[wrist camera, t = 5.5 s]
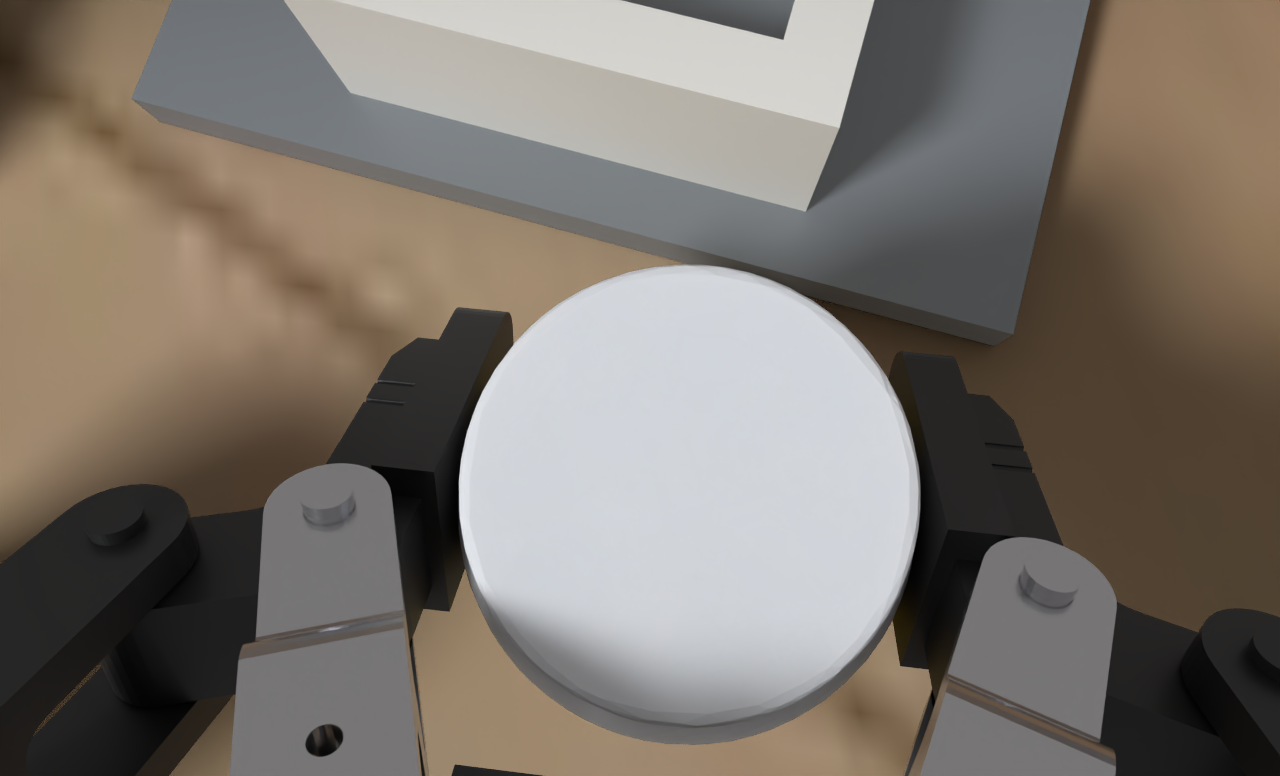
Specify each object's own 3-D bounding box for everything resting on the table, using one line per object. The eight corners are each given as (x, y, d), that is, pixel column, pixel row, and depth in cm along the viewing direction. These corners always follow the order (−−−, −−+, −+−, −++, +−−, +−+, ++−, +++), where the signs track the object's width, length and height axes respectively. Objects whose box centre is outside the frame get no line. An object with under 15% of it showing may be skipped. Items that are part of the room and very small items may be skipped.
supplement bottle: (768, 347, 18) (887, 112, 8) (861, 615, 17) (1124, 713, 7) (508, 429, 18) (310, 290, 8) (587, 703, 17) (471, 925, 7)
